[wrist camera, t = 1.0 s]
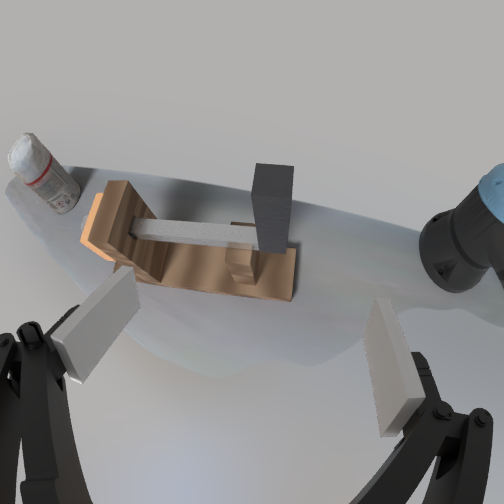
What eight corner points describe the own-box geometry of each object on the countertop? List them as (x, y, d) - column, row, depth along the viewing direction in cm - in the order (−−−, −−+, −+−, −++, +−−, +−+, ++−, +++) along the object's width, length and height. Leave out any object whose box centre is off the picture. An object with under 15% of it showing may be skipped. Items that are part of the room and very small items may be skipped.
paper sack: (86, 180, 57) (38, 124, 38) (77, 212, 54) (20, 160, 35) (61, 185, 57) (13, 135, 39) (51, 215, 54) (-4, 169, 36)
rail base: (295, 253, 47) (306, 189, 29) (290, 301, 44) (301, 262, 27) (128, 237, 51) (72, 181, 33) (117, 278, 48) (51, 236, 30)
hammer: (288, 233, 34) (293, 166, 22) (285, 257, 33) (291, 198, 21) (92, 218, 37) (40, 168, 25) (86, 237, 36) (29, 191, 24)
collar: (132, 217, 41) (111, 193, 34) (119, 261, 38) (94, 243, 32) (119, 216, 41) (96, 193, 34) (106, 259, 38) (79, 241, 32)
